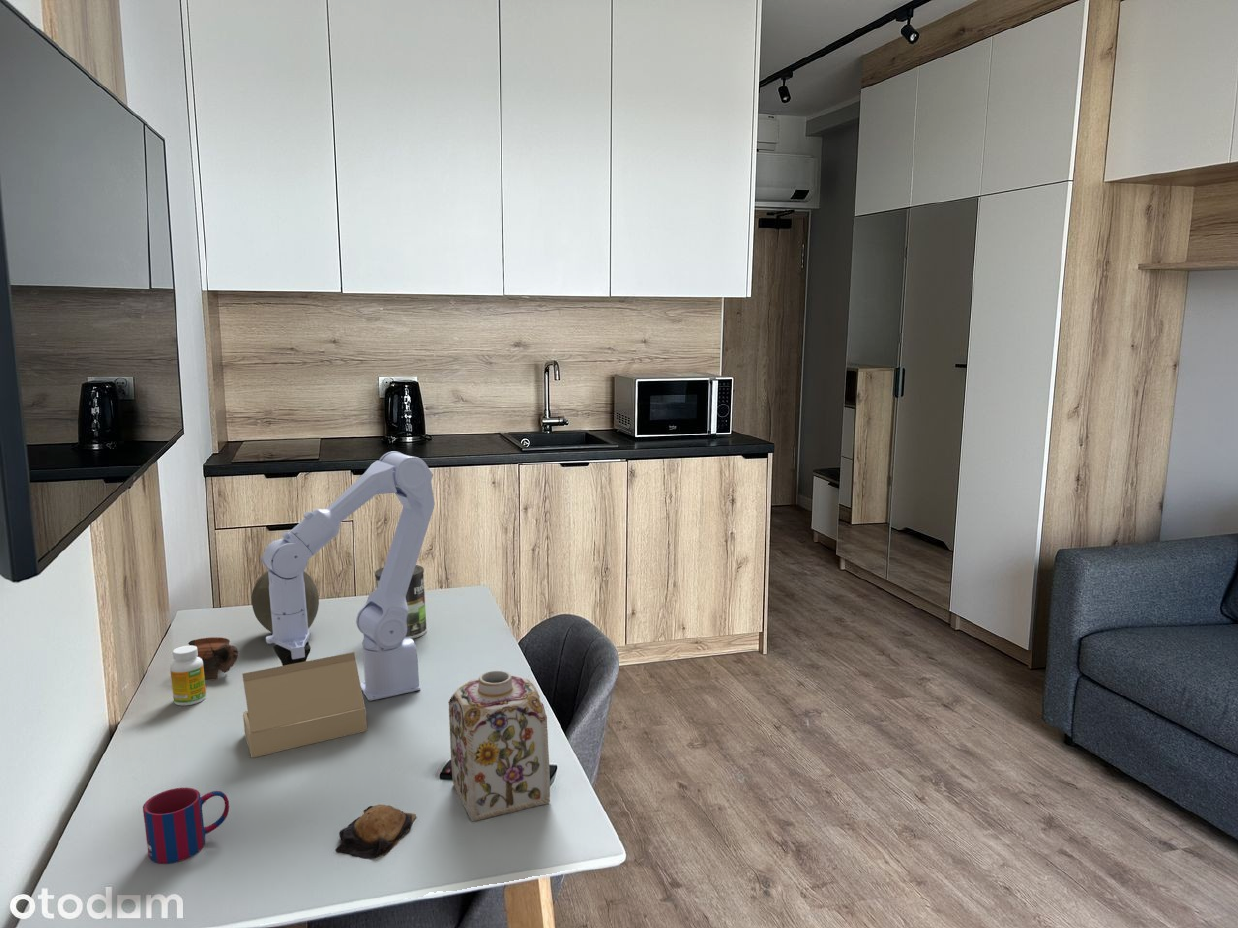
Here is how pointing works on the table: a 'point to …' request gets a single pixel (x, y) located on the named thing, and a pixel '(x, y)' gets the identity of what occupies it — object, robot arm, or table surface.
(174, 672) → the supplement bottle
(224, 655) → the pottery mug
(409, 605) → the coffee can
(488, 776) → the decorative jar
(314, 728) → the carton
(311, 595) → the cantaloupe
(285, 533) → the robot arm
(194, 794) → the cup
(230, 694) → the table surface
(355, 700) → the lid flap
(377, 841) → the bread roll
